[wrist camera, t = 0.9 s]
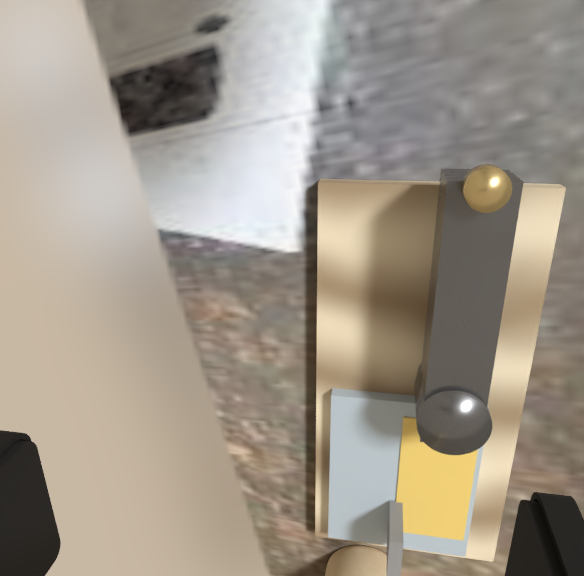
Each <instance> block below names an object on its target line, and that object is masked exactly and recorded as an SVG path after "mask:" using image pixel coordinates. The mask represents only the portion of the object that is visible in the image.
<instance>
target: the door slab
mask: <svg viewBox="0 0 584 576" xmlns="http://www.w3.org/2000/svg"><path fill="white" fill-rule="evenodd" d="M488 409H489V407H488ZM483 446H484V445H483ZM483 446H482V447H481V448H479V449H477V450H476V451H474V452H471V453H468V454H464V455H447V454H443V453H440V452H437V451H435V450H433V449H431V448H430V447H428V446H427V445H426V444H425V443H424V442H420V436H419V434H418V431H417V423H416V409H415V396H414V395H403V394H392V393H381V392H370V391H359V390H348V389H337V388H332V394H331V425H330V472H329V519H328V537H329V538H336V539H343V540H350V541H357V542H364V543H371V544H378V545H385V546H387V576H400V574H401V564H402V554H403V548H406V549H413V550H420V551H428V552H435V553H442V554H449V555H456V556H463V557H465V556H466V550H467V543H468V537H469V531H470V525H471V519H472V513H473V507H474V501H475V495H476V489H477V483H478V477H479V471H480V465H481V459H482V452H483Z"/></svg>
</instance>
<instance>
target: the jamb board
mask: <svg viewBox="0 0 584 576" xmlns="http://www.w3.org/2000/svg"><path fill="white" fill-rule="evenodd" d="M439 185H440V181H393V180H347V179H320V180H319V182H318V241H317V365H316V489H315V537H322V538H329V537H328V519H329V472H330V425H331V394H332V388H337V389H348V390H359V391H370V392H381V393H392V394H403V395H414V383H415V379H416V377H417V370H418V368H419V366H420V364H421V363H422V356H423V346H424V336H425V326H426V316H427V306H428V296H429V286H430V276H431V265H432V255H433V245H434V235H435V225H436V215H437V205H438V195H439ZM565 190H566V188H565V187H563V186H562V185H560V184H532V183H523V189H522V195H521V202H520V208H519V214H518V220H517V226H516V232H515V238H514V245H513V251H512V257H511V263H510V269H509V275H508V282H507V288H506V294H505V300H504V306H503V312H502V319H501V325H500V331H499V337H498V343H497V349H496V356H495V362H494V368H493V374H492V380H491V386H490V393H489V399H488V407H489V412H490V416H491V419H492V432H491V435H490V437H489V439H488V441H487V442H486V443H485V444H484V446H483V452H482V459H481V465H480V471H479V477H478V483H477V489H476V495H475V501H474V507H473V513H472V519H471V525H470V531H469V537H468V543H467V550H466V556H465V557H463V556H456V555H449V554H442V553H435V552H428V551H421V552H428V553H435V554H442V555H449V556H456V557H463V558H470V559H477V560H484V561H491V562H493V560H494V555H495V550H496V544H497V539H498V534H499V529H500V524H501V519H502V514H503V508H504V503H505V498H506V493H507V488H508V483H509V478H510V472H511V467H512V462H513V457H514V452H515V447H516V442H517V437H518V431H519V426H520V421H521V416H522V411H523V406H524V401H525V395H526V390H527V385H528V380H529V375H530V370H531V365H532V360H533V354H534V349H535V344H536V339H537V334H538V329H539V324H540V318H541V313H542V308H543V303H544V298H545V293H546V288H547V283H548V277H549V272H550V267H551V262H552V257H553V252H554V247H555V241H556V236H557V231H558V226H559V221H560V216H561V211H562V205H563V200H564V195H565ZM414 396H415V395H414ZM329 539H336V538H329ZM336 540H343V539H336ZM343 541H350V540H343ZM350 542H357V541H350ZM357 543H364V542H357ZM364 544H371V543H364ZM371 545H378V544H371ZM378 546H385V545H378ZM385 547H387V546H385ZM403 549H406V548H403ZM407 550H413V549H407ZM414 551H420V550H414Z"/></svg>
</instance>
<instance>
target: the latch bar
mask: <svg viewBox="0 0 584 576" xmlns="http://www.w3.org/2000/svg"><path fill="white" fill-rule="evenodd" d="M523 183H524V182H523V181H521V180H520V179H519V178H518V177H516V176H515V175H514V174H513V173H511V172H510V171H509V170H501V169H500V168H499V167H497V166H494V165H490V164H484V165H479V166H477V167H475V168H473V169H441V175H440V185H439V195H438V205H437V215H436V225H435V235H434V245H433V255H432V265H431V276H430V286H429V296H428V306H427V316H426V326H425V336H424V346H423V356H422V366H421V371H420V372H419V373H418V375H417V377H416V379H415V383H414V395H415V409H416V423H417V431H418V434H419V436H420V442H424V443H425V444H426V445H427V446H428V447H430V448H431V449H433V450H435V451H437V452H440V453H443V454H447V455H464V454H468V453H471V452H474V451H476V450H477V449H479V448H481V447H482V446H483V445H484V444H485V443H486V442H487V441H488V439H489V437H490V435H491V432H492V419H491V416H490V412H489V409H488V399H489V393H490V386H491V380H492V374H493V368H494V362H495V356H496V349H497V343H498V337H499V331H500V325H501V319H502V312H503V306H504V300H505V294H506V288H507V282H508V275H509V269H510V263H511V257H512V251H513V245H514V238H515V232H516V226H517V220H518V214H519V208H520V202H521V195H522V189H523Z"/></svg>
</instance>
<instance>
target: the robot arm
mask: <svg viewBox="0 0 584 576" xmlns="http://www.w3.org/2000/svg"><path fill="white" fill-rule="evenodd" d="M59 549H60V538H59V533H58V529H57V525H56V522H55V517H54V513H53V510H52V505H51V502H50V497H49V494H48V489H47V486H46V481H45V477H44V473H43V470H42V465H41V461H40V457H39V454H38V450H37V447H36V445H35V443H33V442H32V441H31V439H30V437H29V436H28V435H27V434H25V433H17V432H9V431H0V576H45V575H46V573H47V572H48V570H49V569H50V567H51V566H52V564H53V563H54V562H55V560H56V558H57V556H58V553H59ZM505 576H584V519H583V517H582V515H581V513H580V510H579V508H578V506H577V504H576V502H575V500H574V499H573V498H572V497H571V496H564V495H555V494H547V493H538V492H534V493H533V495H532V497H531V500H530V501H528V500H521V501H520V504H519V508H518V513H517V518H516V523H515V528H514V533H513V538H512V542H511V547H510V552H509V557H508V562H507V567H506V572H505Z"/></svg>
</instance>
